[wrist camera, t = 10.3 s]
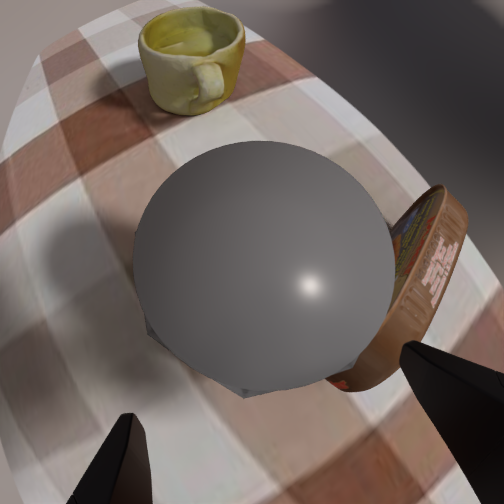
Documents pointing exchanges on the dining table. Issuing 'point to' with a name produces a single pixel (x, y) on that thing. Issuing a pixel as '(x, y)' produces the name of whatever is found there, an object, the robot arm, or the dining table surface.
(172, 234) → the grey domed canister
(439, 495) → the dining table surface
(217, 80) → the mug
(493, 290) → the dining table surface
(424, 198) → the tin
